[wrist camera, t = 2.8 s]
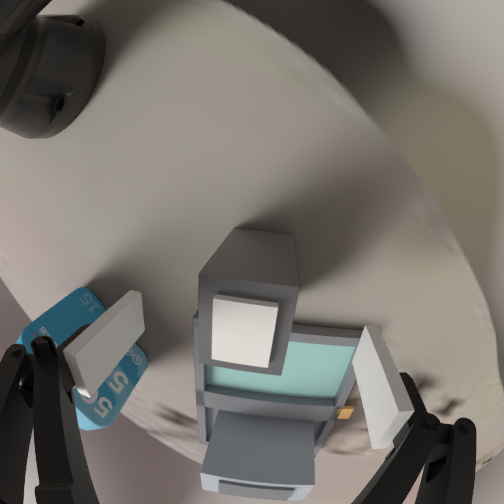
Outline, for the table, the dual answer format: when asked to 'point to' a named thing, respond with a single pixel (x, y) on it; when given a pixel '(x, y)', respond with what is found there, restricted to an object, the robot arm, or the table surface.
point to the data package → (118, 381)
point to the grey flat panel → (284, 383)
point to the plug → (248, 302)
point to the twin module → (259, 457)
